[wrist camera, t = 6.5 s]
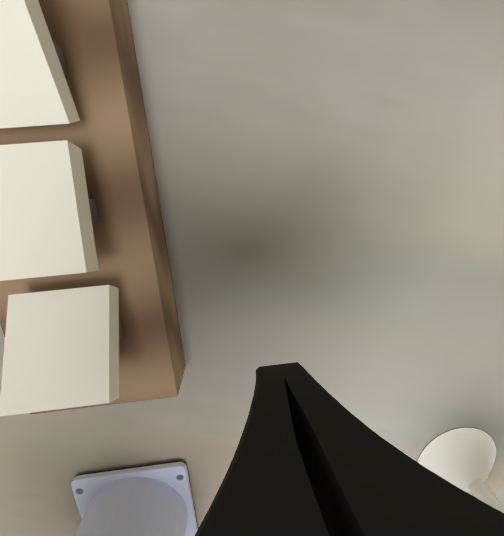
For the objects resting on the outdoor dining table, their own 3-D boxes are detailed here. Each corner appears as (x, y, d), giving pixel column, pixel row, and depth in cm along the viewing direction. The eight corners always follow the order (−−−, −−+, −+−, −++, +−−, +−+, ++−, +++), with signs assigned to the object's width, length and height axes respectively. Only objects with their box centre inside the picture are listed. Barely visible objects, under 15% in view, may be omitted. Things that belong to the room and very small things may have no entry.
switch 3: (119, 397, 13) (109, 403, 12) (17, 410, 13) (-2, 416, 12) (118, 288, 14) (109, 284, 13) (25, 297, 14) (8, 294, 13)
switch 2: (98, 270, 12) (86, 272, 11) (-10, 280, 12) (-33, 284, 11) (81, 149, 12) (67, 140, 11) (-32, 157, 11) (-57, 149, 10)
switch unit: (185, 365, 19) (173, 411, 15) (54, 380, 18) (4, 432, 14) (123, -18, 14) (79, -110, 10) (-61, -10, 13) (-190, -102, 9)
